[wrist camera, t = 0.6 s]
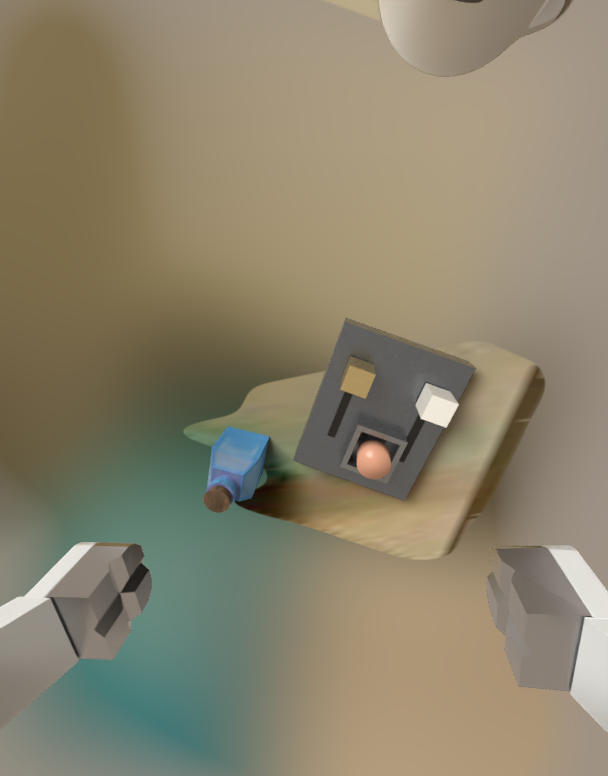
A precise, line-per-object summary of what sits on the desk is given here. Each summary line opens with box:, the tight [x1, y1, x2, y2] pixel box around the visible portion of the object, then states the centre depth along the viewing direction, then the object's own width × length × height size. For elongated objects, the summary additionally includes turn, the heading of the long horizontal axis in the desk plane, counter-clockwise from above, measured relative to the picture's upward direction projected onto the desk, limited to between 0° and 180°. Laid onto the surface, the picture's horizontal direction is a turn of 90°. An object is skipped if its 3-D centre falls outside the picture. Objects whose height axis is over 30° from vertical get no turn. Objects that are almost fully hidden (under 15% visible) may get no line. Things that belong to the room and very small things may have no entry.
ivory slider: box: [416, 383, 459, 428], centre depth 42 cm, size 3×3×4 cm
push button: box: [357, 440, 391, 479], centre depth 44 cm, size 4×4×2 cm
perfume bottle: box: [203, 427, 269, 513], centre depth 48 cm, size 6×6×12 cm
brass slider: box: [340, 356, 376, 399], centre depth 42 cm, size 3×3×4 cm
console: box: [293, 318, 476, 501], centre depth 46 cm, size 20×16×5 cm
